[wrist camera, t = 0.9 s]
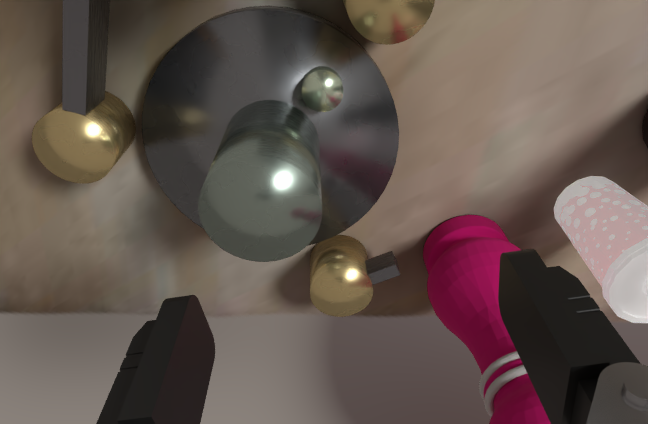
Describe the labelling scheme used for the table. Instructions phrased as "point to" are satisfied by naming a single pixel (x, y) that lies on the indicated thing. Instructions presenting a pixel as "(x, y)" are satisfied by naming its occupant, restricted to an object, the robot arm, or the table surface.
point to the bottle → (645, 129)
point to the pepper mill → (480, 312)
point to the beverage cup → (609, 241)
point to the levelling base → (277, 74)
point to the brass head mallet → (84, 102)
